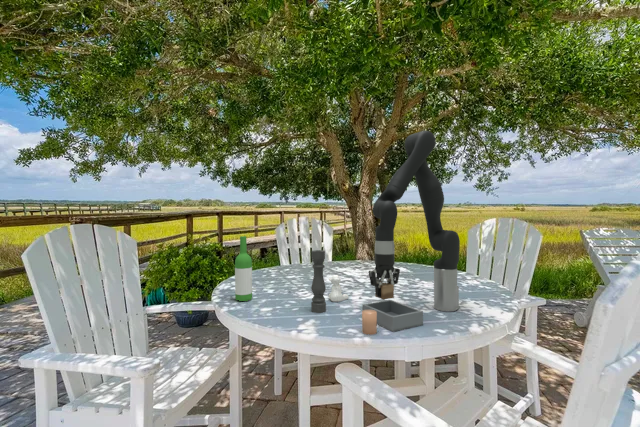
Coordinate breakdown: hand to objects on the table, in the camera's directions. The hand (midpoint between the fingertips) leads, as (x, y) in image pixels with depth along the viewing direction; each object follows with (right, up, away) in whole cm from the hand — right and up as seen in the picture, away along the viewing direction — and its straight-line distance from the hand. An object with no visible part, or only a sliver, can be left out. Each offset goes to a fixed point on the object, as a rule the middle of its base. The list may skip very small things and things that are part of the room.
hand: (384, 295), depth 129 cm
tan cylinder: (-8, -9, -14) cm, 19 cm away
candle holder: (-26, -9, +10) cm, 29 cm away
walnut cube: (0, 0, 0) cm, 0 cm away
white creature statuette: (-17, -9, +26) cm, 32 cm away
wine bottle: (-61, -9, +28) cm, 68 cm away
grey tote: (+2, -9, -3) cm, 9 cm away
